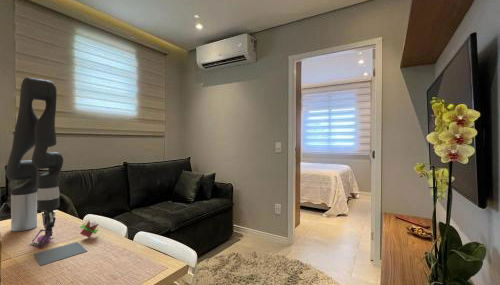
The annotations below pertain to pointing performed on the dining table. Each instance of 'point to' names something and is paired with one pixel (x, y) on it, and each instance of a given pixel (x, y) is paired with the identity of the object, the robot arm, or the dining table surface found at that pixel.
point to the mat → (59, 253)
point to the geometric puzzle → (89, 228)
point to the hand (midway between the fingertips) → (48, 236)
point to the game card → (42, 239)
